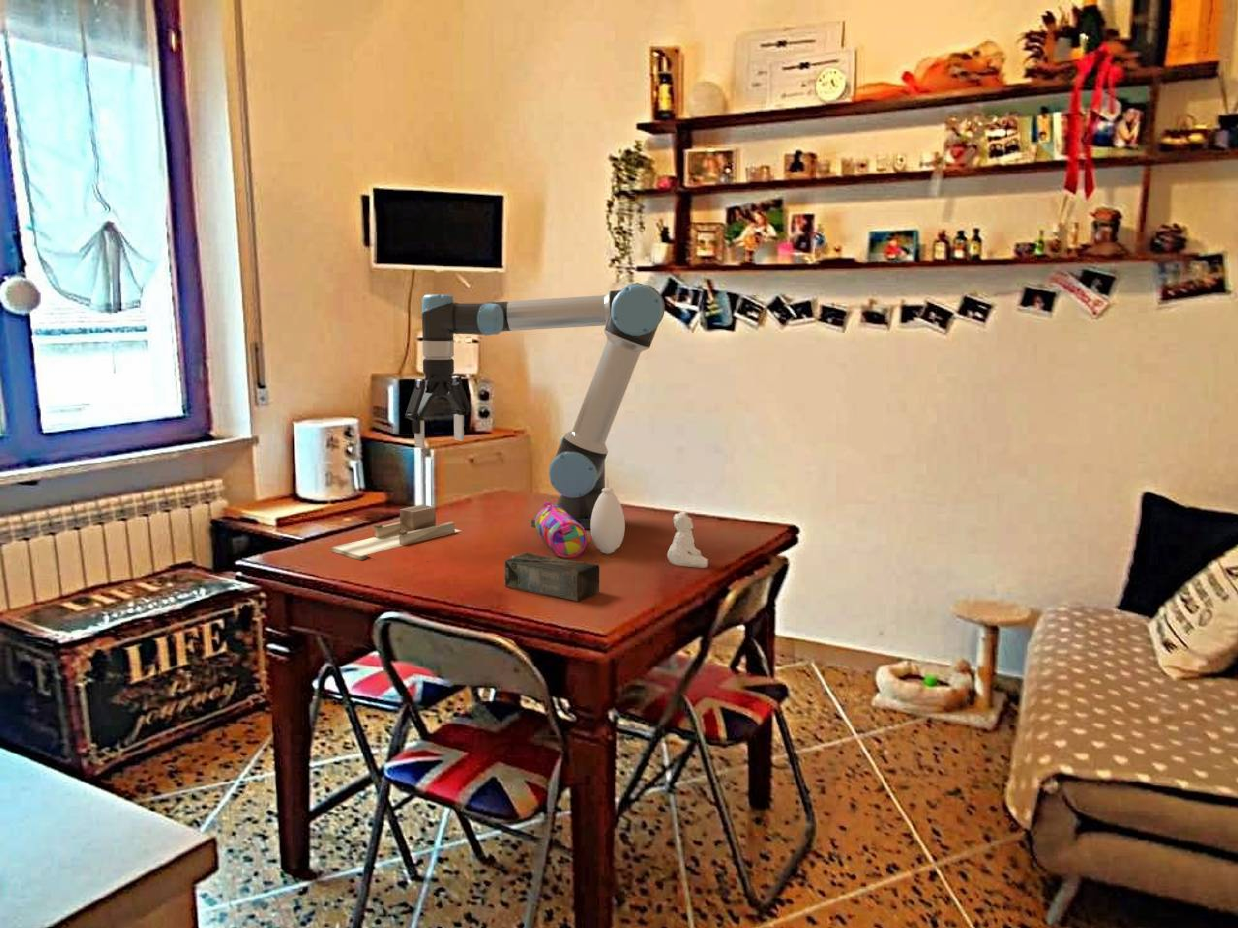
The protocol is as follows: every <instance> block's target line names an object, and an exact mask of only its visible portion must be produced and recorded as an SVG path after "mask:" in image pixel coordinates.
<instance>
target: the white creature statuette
mask: <svg viewBox="0 0 1238 928" xmlns="http://www.w3.org/2000/svg"><path fill="white" fill-rule="evenodd" d="M692 520H693V519H692V518H691V517H689V515H688V512H687V511H684V510H682V511H680V512H678V513H675V514H674V516H673V525H674V527H675V530H677V531H676V533H674V536H673V541H672V544H671V545H670V547H669V548H668V551H667V553H666V556H667V559H668V560H669V563H671V564H672V565H674V566H678V567H689V568H700V569H705V568H708V563H709V562H708V561H709V559H708V558H706V557H704V556H703V555H702V552H701V550H700V549H698V548H696V545H695V542H696V541H695V538H694V536H693V531H692V529H694V525H693V522H692Z"/></svg>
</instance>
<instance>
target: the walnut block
mask: <svg viewBox="0 0 1238 928" xmlns="http://www.w3.org/2000/svg"><path fill="white" fill-rule="evenodd" d="M436 512H437V511H436V507H435V506H430V505H426V504H418V505H414V506H408V507H404V508H401V509H400V508H399V522H400V527H401V531H403V530H404V531H407V532H410V531H414V530H418V529H423V528H427V527H431V526H435V525H437V518H436V517H437V515H436Z"/></svg>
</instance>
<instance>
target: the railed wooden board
mask: <svg viewBox="0 0 1238 928" xmlns="http://www.w3.org/2000/svg"><path fill="white" fill-rule="evenodd" d="M455 523H456V522H455V521H447V522H444V523H440V524H436V525H435V526H431V527H427V528H423V529H418V530H414V531H410V532H407V531H404V530H403V531H401V527H400V521H397V522H393V523H388V524H384V525H383V524H380V523H376V524H373V525H374V527H373V529H374V537H369V538H365V539H361V540H356V541H352V542H349V543H348V542H347V543H344V544H339V545H336V546H332V547H331V552H333V553H335V554H338V555H342V556H346V557H349V558H352V559H355V560H359V561H363V560H367V559H371V558H372V557H371V556H368V555H371V554H375V553H379V552H384V551H387V550H392V549H395V548H399V547H400V548H401V547H403V546H406V545H407V546H408V545H411V544H415V543H420V542H422V541H423V542H424V541H428V540H431V539H435V538H439V537H443V536H447V535H453V534H456V533H458V532H459V533H460V532H462V530H461V529H456V524H455Z"/></svg>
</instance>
